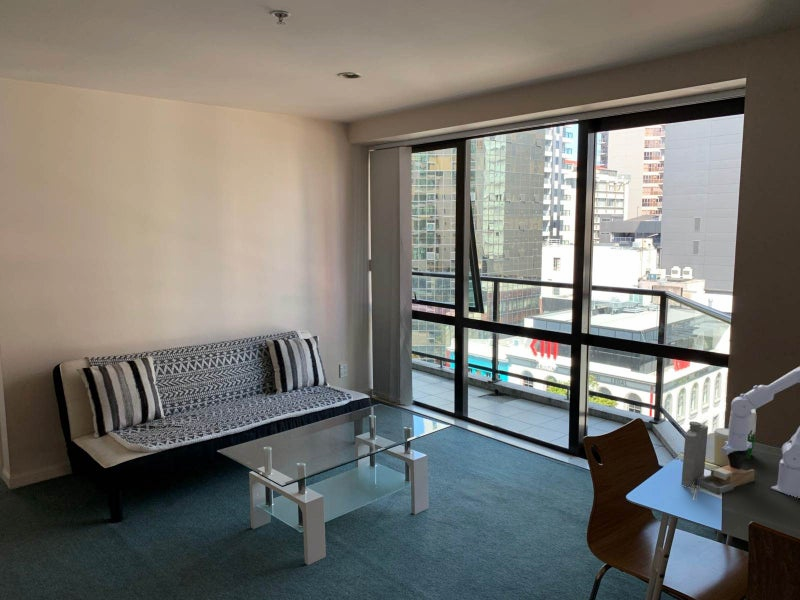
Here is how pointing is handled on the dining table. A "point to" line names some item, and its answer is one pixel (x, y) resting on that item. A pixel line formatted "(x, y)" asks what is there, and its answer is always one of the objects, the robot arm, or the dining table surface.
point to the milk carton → (751, 431)
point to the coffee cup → (720, 446)
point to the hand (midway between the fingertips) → (734, 471)
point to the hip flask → (694, 453)
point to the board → (735, 477)
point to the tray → (713, 485)
